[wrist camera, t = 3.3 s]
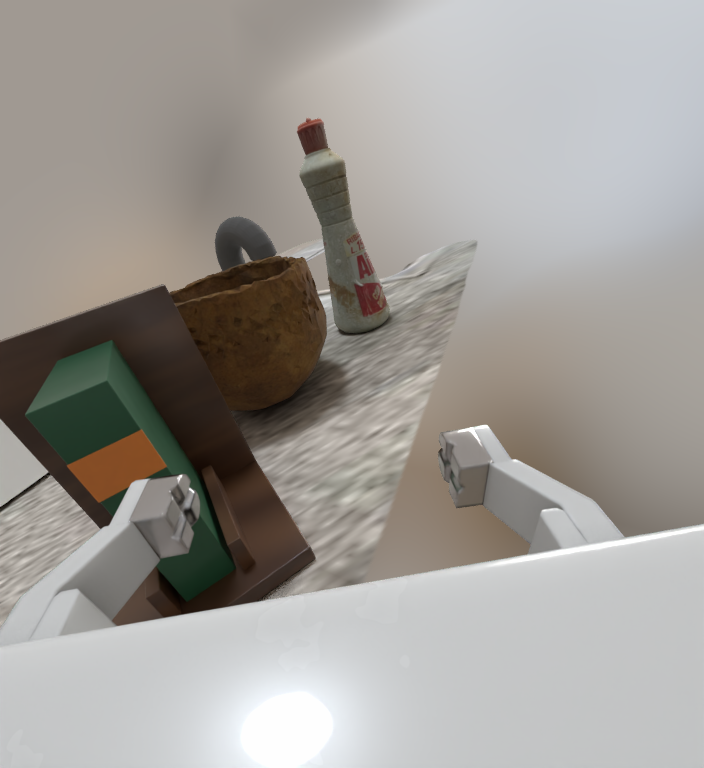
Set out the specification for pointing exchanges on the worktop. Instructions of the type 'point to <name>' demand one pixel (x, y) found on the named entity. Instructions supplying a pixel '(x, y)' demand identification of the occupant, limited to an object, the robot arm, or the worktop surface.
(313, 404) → the worktop surface
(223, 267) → the faucet
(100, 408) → the book
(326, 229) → the bottle
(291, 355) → the bowl
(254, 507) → the book rack
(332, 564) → the worktop surface
